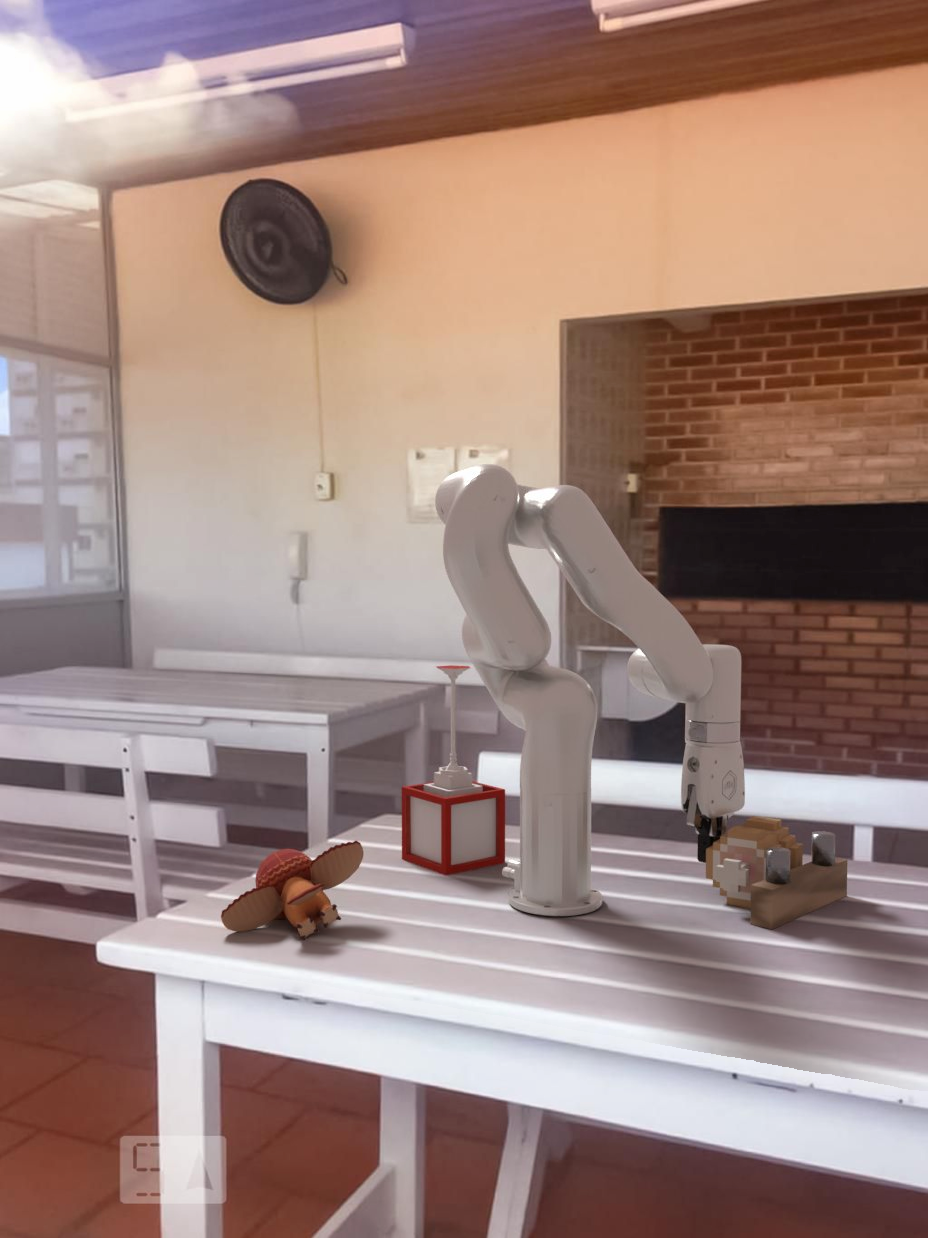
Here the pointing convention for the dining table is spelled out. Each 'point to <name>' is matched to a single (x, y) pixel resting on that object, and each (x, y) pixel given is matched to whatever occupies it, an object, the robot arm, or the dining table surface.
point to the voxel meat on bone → (747, 857)
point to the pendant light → (453, 815)
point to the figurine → (294, 889)
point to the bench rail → (798, 883)
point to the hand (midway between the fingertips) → (710, 861)
